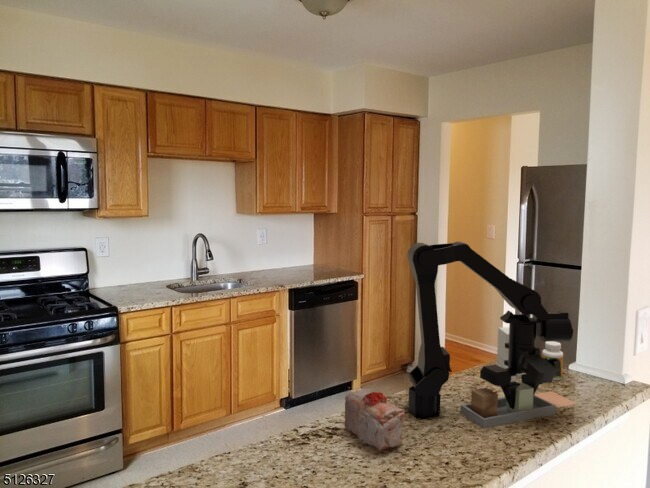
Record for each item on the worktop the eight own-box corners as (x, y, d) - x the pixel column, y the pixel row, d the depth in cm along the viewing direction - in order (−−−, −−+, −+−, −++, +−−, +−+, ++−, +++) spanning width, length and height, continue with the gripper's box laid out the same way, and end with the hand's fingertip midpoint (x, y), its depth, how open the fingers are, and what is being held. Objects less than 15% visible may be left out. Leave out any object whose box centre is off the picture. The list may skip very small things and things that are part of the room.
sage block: (518, 416, 114) (519, 390, 113) (506, 408, 118) (507, 384, 117) (532, 413, 115) (533, 388, 115) (520, 406, 119) (521, 381, 118)
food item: (410, 446, 102) (411, 399, 101) (380, 458, 97) (380, 409, 96) (366, 421, 113) (367, 379, 112) (338, 431, 108) (338, 387, 107)
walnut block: (482, 423, 110) (483, 396, 110) (470, 415, 114) (471, 390, 114) (497, 420, 112) (497, 394, 111) (485, 413, 116) (486, 387, 115)
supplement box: (531, 378, 139) (533, 333, 138) (504, 378, 139) (506, 333, 138) (521, 369, 146) (523, 326, 145) (495, 369, 146) (497, 326, 145)
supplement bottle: (542, 379, 138) (543, 345, 137) (539, 372, 143) (541, 339, 142) (563, 381, 136) (565, 346, 135) (560, 374, 142) (562, 341, 141)
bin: (483, 431, 108) (483, 419, 108) (460, 415, 116) (460, 404, 115) (555, 416, 115) (556, 405, 115) (529, 402, 123) (530, 392, 123)
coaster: (551, 411, 118) (551, 408, 118) (526, 398, 125) (526, 395, 125) (577, 405, 121) (577, 403, 121) (551, 393, 128) (551, 391, 128)
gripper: (514, 356, 104) (511, 428, 106) (582, 346, 111) (578, 414, 112) (479, 341, 114) (477, 407, 116) (543, 333, 121) (541, 396, 123)
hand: (519, 406), depth 116 cm, fingers closed on sage block, 4 cm apart
